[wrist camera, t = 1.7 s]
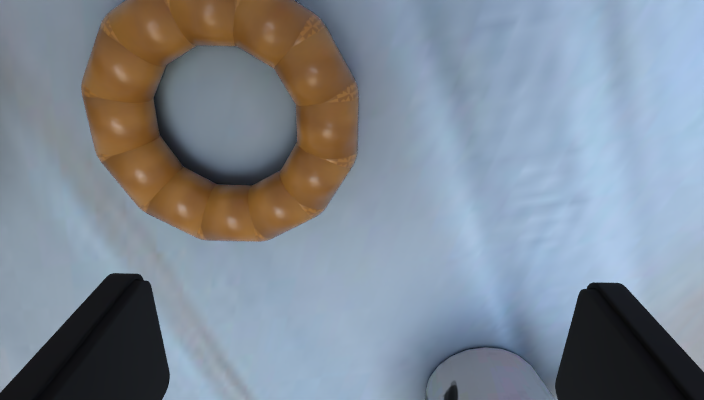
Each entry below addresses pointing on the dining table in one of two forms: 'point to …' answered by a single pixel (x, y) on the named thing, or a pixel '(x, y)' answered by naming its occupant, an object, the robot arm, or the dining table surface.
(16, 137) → the dining table surface
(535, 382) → the mug
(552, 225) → the dining table surface
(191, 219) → the ring
